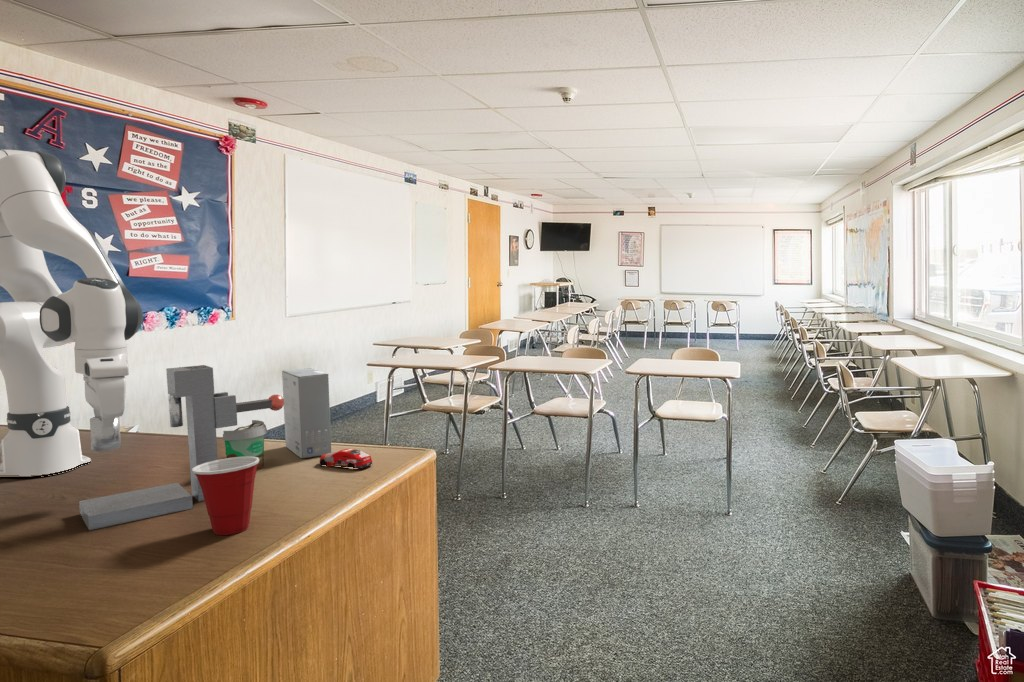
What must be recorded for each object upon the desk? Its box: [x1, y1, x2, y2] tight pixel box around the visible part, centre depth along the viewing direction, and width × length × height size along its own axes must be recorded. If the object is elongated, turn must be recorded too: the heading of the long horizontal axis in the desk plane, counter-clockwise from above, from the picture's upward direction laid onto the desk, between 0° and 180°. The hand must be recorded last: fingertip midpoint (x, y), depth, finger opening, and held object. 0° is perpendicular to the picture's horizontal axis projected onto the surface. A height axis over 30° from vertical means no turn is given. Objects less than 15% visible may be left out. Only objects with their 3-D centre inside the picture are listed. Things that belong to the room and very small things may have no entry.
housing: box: [89, 416, 122, 452], centre depth 137 cm, size 5×5×8 cm
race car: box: [319, 448, 373, 469], centre depth 160 cm, size 13×5×4 cm, turn 63°
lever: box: [236, 394, 284, 414], centre depth 144 cm, size 3×14×3 cm, turn 129°
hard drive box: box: [281, 367, 333, 459], centre depth 174 cm, size 16×8×20 cm, turn 32°
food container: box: [222, 419, 268, 472], centre depth 159 cm, size 12×6×10 cm, turn 168°
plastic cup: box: [192, 457, 259, 536], centre depth 121 cm, size 11×11×12 cm
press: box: [78, 364, 238, 531], centre depth 133 cm, size 11×27×26 cm, turn 129°
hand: (104, 432), depth 137 cm, fingers closed on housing, 5 cm apart
